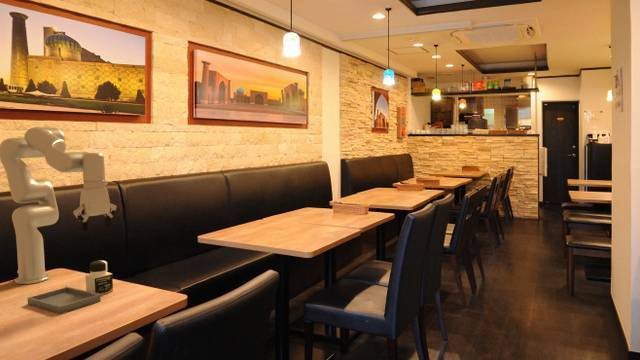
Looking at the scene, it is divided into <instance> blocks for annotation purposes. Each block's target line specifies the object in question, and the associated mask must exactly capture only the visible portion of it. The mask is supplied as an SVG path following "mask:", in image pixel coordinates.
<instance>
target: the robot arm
mask: <svg viewBox="0 0 640 360" xmlns="http://www.w3.org/2000/svg"><path fill="white" fill-rule="evenodd" d="M65 141H66V137H65V134H64V132H63V131H62V130H61V129H59V128H58V127H50V126H49V127H48V126H47V127H46V126H45V127H44V126H43V127H42V126H41V127H40V126H36V127H30V128H29V129H27V130H26V131H25V133H24V137H9V138H6V139H4V140H2V142H1V143H0V162H1V164H2V167H3V168H4V171H5V173H6V178H7V182H8V186H9V190H10V195H11V198H12V200H13V201H14V202H15V203H18V204H28V203H35V202H38V204H30V205H23V206H20V207H18V208H16V209H15V210H14V211H13V212H12V215H11V219H12V224H13V227H14V231H15V240H16V251H17V252H16V253H17V254H16V255H17V266H18V267H17V268H18V269H17V272H16V273H17V274H18V277H16V278H14V283H15V284H18V285H30V284H36V283H42V282H45V281H47V280H49V279H50V276H51V275H50V274H48V273H46V268H45V267H46V266H45V264H46V263H45V249H44V247H45V246H44V238H43V235H42V233H41V232H40V231H39V230H38V228H41V227H45V226H50V225H51V226H52V225H54V224H56V223H57V222H58V220H59V216H60V212H59V208H58V203H57V198H56V194H55V190H54V187H53V185H52V183H51V182H49V180H47V179H43V178H36V179H33V176H32V173H31V169H30V167H29V166H28V165H27V163H26V162H24V160H22V159H32V158H35V159H36V158H45V161H46V163H47V165H48V166H50V167H51V168H52V169H54V170H55V171H58V172H60V173H65V174H67V173H82V181H83V189H81V192H80V198H79V207H77V208H76V209H74V210H73V211H72V213H73V215H74V216H75V218H76V219H77V220H78V221H79V222H80V230H81V233H85V234H87V233H89V222H88V220H89V217H95V216H102V215H103V216H104V228H105V229H112V224H113V223H112V218H113V217H114V214H116V210H117V207H118V206H117V205H116V204H114V203H111V202H110V201H111V199H110V194H109V191H108V188H107V187H106V186H107V185H108V184H109V183H108V181H106V169H105V167H106V166H105V155H104V154H103V153H101V152H85V151H84V152H83V151H81V152H80V151H79V152H77V151H76V152H65V151H66V149H67V144H66V142H65Z"/></svg>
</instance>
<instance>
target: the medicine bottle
mask: <svg viewBox="0 0 640 360" xmlns="http://www.w3.org/2000/svg"><path fill="white" fill-rule="evenodd" d="M89 272H90V273H87V274H85V291H87V292H92V293H96V294H100V296H101V295H105V294H108V293H111V292H113V291H114V282H113V277H114V276H113V273H112V272H108V262H107V261H106V260H101V259H100V260H95V261H92V262H90V263H89Z"/></svg>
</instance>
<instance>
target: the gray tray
mask: <svg viewBox="0 0 640 360" xmlns="http://www.w3.org/2000/svg"><path fill="white" fill-rule="evenodd" d="M99 302H101V295H100V294H96V293H92V292H87V291H86V290H83V289H79V288H75V287H71V286H66V287H65V286H64V287H62V288H59V289H54V290H51V291H47V292H44V293H40V294H37V295H36V294H35V295H33V296H29V297H27V305H28V306H32V307H36V308H39V309H41V310H42V309H43V310H44V311H48V312H52V313H55V314H58V315H62V314H64V313H68V312H71V311H74V310H77V309H80V308H83V307H84V308H85V307H87V306H90V305H93V304H96V303H99Z"/></svg>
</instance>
